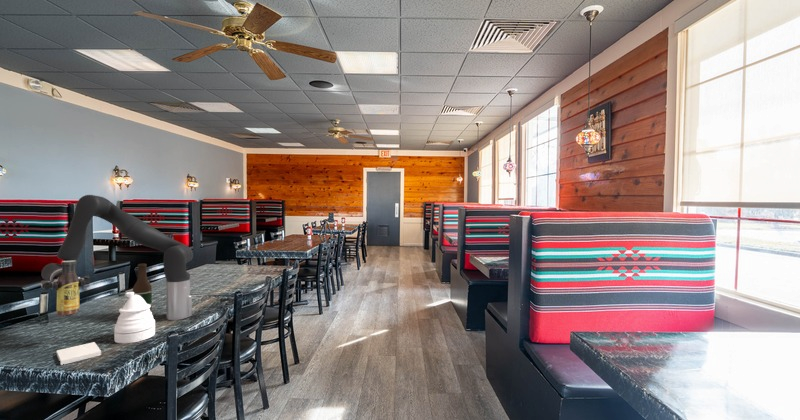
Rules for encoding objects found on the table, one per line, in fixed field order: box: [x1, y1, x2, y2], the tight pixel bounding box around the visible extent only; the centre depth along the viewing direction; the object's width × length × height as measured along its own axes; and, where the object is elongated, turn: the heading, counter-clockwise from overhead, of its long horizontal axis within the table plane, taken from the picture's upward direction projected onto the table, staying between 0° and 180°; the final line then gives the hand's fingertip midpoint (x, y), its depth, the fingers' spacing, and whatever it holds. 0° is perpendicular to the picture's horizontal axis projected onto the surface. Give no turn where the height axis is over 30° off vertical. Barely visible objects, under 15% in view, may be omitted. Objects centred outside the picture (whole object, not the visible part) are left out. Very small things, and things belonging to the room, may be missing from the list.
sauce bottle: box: [56, 260, 81, 316], centre depth 129 cm, size 7×6×20 cm
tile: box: [56, 341, 102, 366], centre depth 120 cm, size 10×2×12 cm
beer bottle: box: [132, 263, 153, 313], centre depth 163 cm, size 8×8×24 cm
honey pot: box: [113, 291, 156, 344], centre depth 136 cm, size 13×13×18 cm
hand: (69, 285), depth 128 cm, fingers closed on sauce bottle, 6 cm apart
